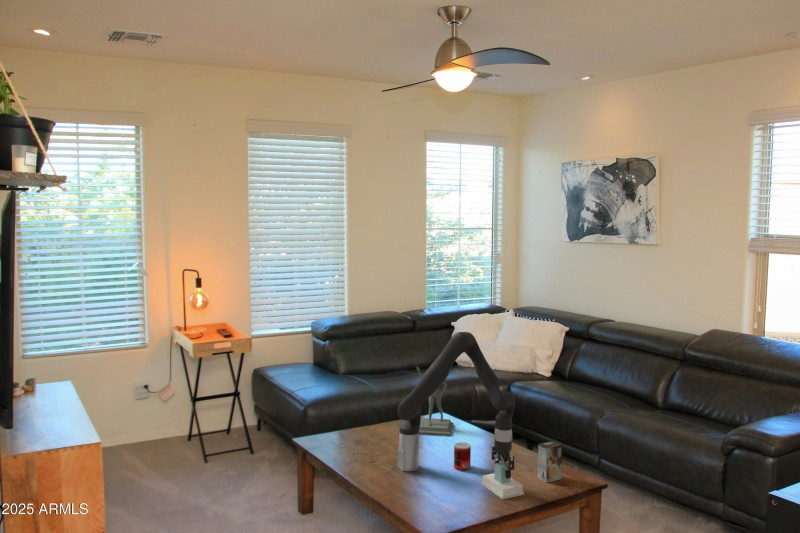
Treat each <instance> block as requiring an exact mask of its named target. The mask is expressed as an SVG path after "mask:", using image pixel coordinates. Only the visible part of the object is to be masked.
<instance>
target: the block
mask: <svg viewBox="0 0 800 533" xmlns="http://www.w3.org/2000/svg"><path fill="white" fill-rule="evenodd" d="M507 467H508V465H507ZM493 473H494V479H495V480H496V481H498V482H499V483H505V482H510V481H511V478H512V477H511V478H508V479H507V478H505V474H506V468H505V466H504V465H503V462H501V461H500V463H494V472H493Z"/></svg>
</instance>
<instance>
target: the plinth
mask: <svg viewBox="0 0 800 533" xmlns="http://www.w3.org/2000/svg"><path fill="white" fill-rule="evenodd" d="M480 484H481V485H482V486H483V487H484V488H486V489H488V490H489V491H490V492H492V493H493V494H495V496H497V497H498V498H500V499H501V500H505V499H511V498H515V497H516V498H517V497H519V496H524V495H525V492H524V491H523V489H524V488H523V487H524V486H523V484H521V483H520V482H518V481H516V479H513V478H512V477H511V481H510V482H505V483H499V482H498V481H496V480H495V479H494V472H492V473H490V474H489V473H488V474H483V475H482V481H481V483H480Z"/></svg>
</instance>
